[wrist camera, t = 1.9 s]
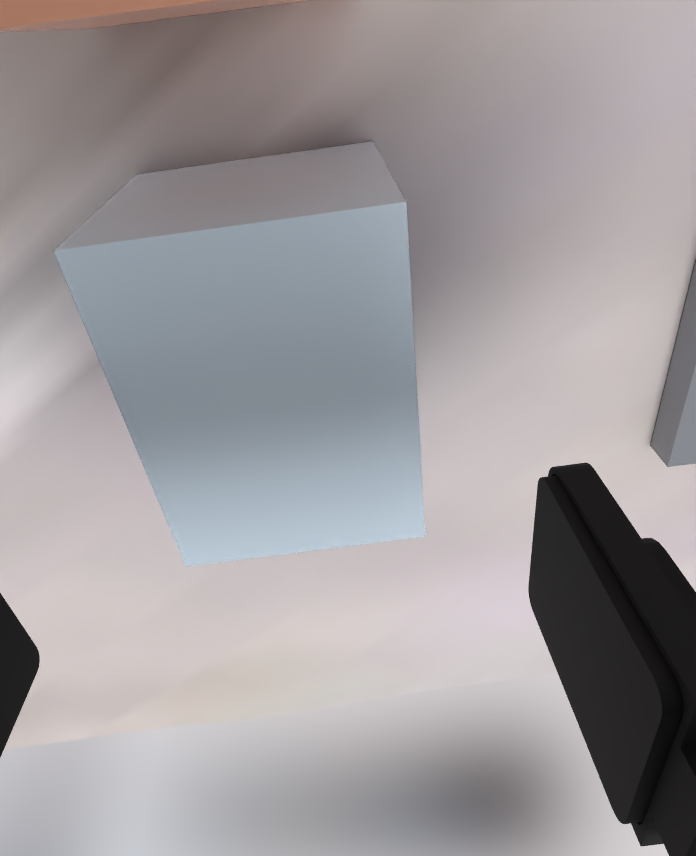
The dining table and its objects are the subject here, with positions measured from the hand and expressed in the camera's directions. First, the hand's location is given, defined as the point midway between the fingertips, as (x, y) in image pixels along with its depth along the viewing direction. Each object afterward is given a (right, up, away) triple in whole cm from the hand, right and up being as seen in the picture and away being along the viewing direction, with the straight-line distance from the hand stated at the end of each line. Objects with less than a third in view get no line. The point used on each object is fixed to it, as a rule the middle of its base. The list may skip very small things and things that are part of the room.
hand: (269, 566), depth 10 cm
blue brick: (-1, +6, +7) cm, 9 cm away
